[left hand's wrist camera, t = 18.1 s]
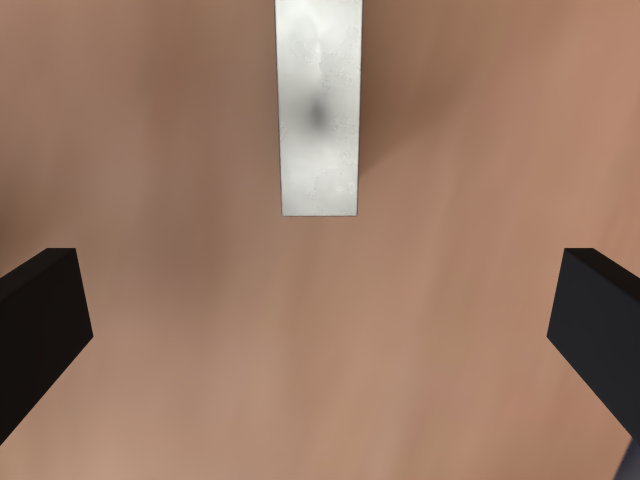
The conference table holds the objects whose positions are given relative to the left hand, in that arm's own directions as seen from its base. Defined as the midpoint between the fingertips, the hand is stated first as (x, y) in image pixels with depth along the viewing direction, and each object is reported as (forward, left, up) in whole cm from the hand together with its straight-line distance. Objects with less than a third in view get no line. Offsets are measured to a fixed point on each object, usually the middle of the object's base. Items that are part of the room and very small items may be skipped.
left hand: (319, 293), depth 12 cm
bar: (-2, +7, -28) cm, 29 cm away
